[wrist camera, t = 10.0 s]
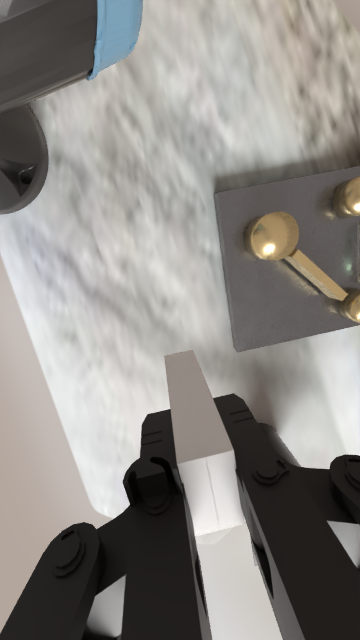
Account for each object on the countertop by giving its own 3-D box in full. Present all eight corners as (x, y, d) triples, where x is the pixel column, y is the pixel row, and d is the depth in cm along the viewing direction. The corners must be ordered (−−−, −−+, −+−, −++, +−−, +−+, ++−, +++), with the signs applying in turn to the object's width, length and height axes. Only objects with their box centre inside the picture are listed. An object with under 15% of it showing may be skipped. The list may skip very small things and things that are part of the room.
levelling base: (213, 195, 35) (224, 185, 30) (371, 165, 36) (409, 151, 31) (233, 347, 42) (245, 361, 37) (364, 318, 43) (394, 328, 38)
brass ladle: (236, 242, 35) (245, 241, 32) (263, 205, 34) (275, 201, 31) (315, 308, 39) (330, 314, 36) (341, 277, 38) (359, 280, 35)
